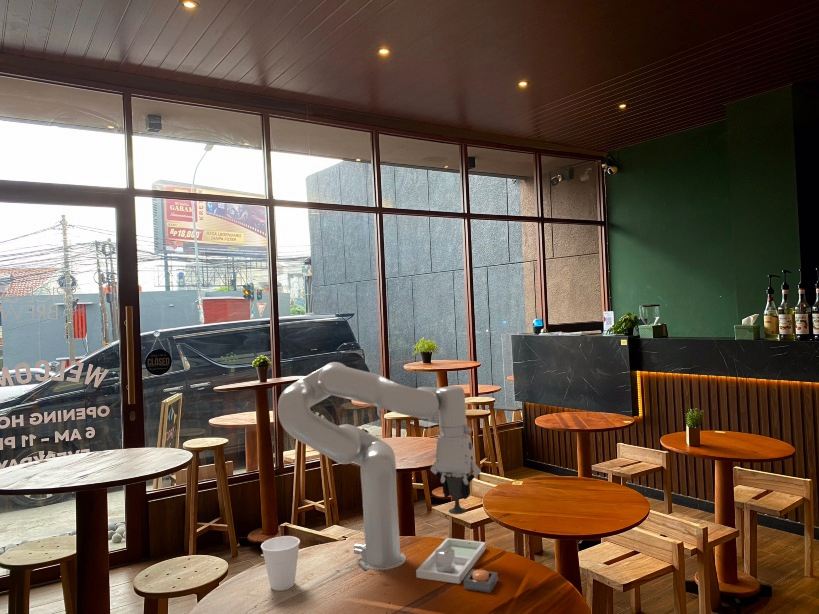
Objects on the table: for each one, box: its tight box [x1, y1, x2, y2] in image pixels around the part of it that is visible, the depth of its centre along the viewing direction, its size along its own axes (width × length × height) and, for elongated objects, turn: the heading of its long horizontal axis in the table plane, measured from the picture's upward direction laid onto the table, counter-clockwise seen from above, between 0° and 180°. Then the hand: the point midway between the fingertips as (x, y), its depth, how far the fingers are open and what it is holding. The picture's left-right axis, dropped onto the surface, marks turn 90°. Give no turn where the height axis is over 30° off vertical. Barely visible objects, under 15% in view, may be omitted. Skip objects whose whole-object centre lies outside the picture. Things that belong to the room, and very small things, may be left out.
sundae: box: [444, 473, 467, 515], centre depth 164 cm, size 7×7×15 cm
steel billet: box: [434, 548, 455, 574], centre depth 154 cm, size 5×5×5 cm
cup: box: [260, 535, 301, 592], centre depth 153 cm, size 10×10×11 cm
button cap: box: [472, 569, 489, 582], centre depth 145 cm, size 4×4×2 cm
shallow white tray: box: [415, 537, 487, 585], centre depth 159 cm, size 12×22×3 cm, turn 156°
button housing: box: [463, 568, 499, 594], centre depth 145 cm, size 7×7×3 cm
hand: (456, 496), depth 164 cm, fingers closed on sundae, 4 cm apart
